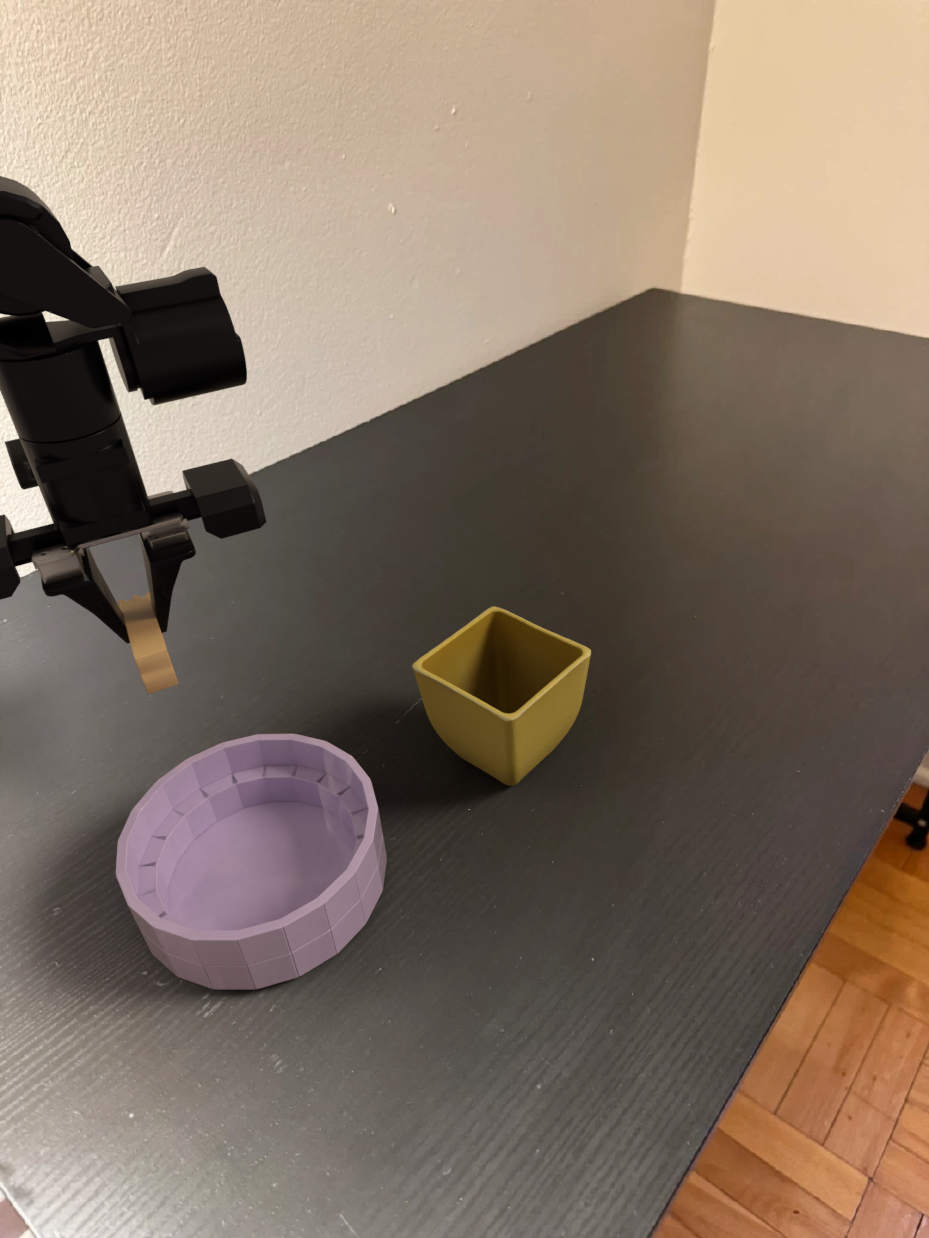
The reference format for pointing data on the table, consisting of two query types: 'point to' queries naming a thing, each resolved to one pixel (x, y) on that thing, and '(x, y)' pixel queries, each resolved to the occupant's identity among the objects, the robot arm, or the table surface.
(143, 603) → the fork
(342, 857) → the bowl
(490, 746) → the flower pot
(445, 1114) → the table surface
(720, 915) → the table surface
